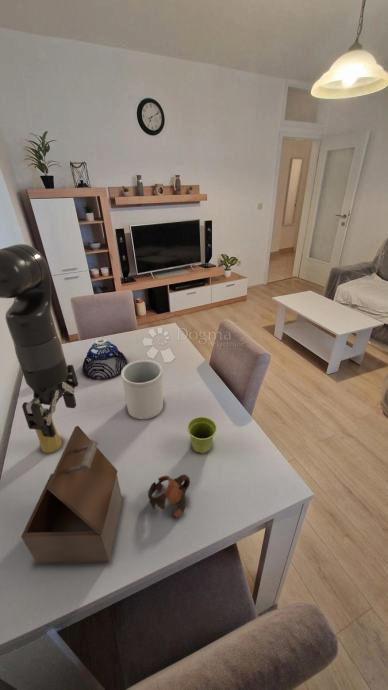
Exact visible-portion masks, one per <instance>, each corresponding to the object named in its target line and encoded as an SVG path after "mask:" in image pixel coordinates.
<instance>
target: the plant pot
mask: <svg viewBox="0 0 388 690" xmlns="http://www.w3.org/2000/svg"><path fill="white" fill-rule="evenodd" d="M186 430H187V433H188V435H189V436H190V441H191V446H192V449H193V451H195V452H196V453H200V454H205V453H207V452H209V451H210V449H211V447H212V443H213V439H214V436H215V435H216V433H217V430H218V426H217V424H216V421H214V420H213V419H211V418H210V417H207V416H197V417H194V418H192V419H191V420H190V421H189V422H188V424H187V428H186Z"/></svg>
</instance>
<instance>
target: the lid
mask: <svg viewBox="0 0 388 690" xmlns="http://www.w3.org/2000/svg"><path fill="white" fill-rule="evenodd" d="M98 444H99V443H98V441H96V440H91V439H90V437H89V436H88V435H87V434H86V433H85V431H83V429H82V428H81V427H80V426H79V425H76V426H74V428H73V431H72V433H71V435H70V436H69V439H68V441H67V443H66V445H65V448H64V449H63V452H62V454H61V456H60V458H59V461H58V462H57V465H56V467H55V469H54V471H53V473H52V474H53V475H52V477H51V479H50V482H49V484H48V486H47V489H48V490H49V491H50V492H51V493H53V494H54V495H55V496H56V497H57V498H58V499H59V500H60V501H62V502H63V503H64V504H65V505H66V506H67V507H68V508H70V509H71V510H72V511H73V512H74V513H75V514H76V515H78V516H79V517H80V518H81V519H82V520H83V521H84V522H85V523H87V524H88V525H89V526H90V527H91V528H92V529H93V530H95V531H96V532H97V533H98V534H102V532H103V528H104V524H105V520H106V516H107V512H108V508H109V504H110V500H111V496H112V492H113V488H114V484H115V479H116V475H117V476H118V470H117V468H116V467H115V466H114V465H113V464H112V463H111V462H110V460H109V459H108V458H107V457H106V456H105V455H104V453H103V452H102V451H101V450H100V449H99V448H98Z"/></svg>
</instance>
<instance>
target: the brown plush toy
mask: <svg viewBox="0 0 388 690" xmlns="http://www.w3.org/2000/svg"><path fill="white" fill-rule="evenodd" d="M157 481H158V482H157V483H156V482H155V481H154V482H152V484H151V485H150V486H149V489H148V491H147V497H148V499H149V504H150V506H151V507H152V509H153V510H156V506H157V507H158V508H160V509H161V510H165V509H166V501H167V500H168V501H167V502H169V504H170V505H171V506H174V505H175V506H176V507H177V508H176V509H175V510H174V511H173V512H172V515H173V516H174V517H175V518H176V519H178V518H179V517H180V516H181V515H182V514H183V513H184V511H185V509H186V507H187V498H186V492H187V490H188V489H189V487H190V484H191V479H190V477H189V476H188V475H187V474H181V475H179V476H178V477H176V478H173V477H171V476H169V475H162V476H160V477H158V480H157ZM165 481H168V484H167V487H166V489H164V491H163V492H162V493H161V494H160V495H157V496H153V495H154V493H155V492H156V491H162V489H163V487H164V485H163V484H162V483H164V482H165Z"/></svg>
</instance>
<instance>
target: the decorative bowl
mask: <svg viewBox="0 0 388 690" xmlns="http://www.w3.org/2000/svg"><path fill="white" fill-rule="evenodd" d="M92 350H95V351H96V352H93V351H92ZM112 358H115V366H114V367H115V368H114V369H115V370H114V369H113V368H112V367H111V366H109V365H108V364H107V363H106V362H105V363H104V362H101V361H107V360H110V359H112ZM94 361H100V362H94ZM127 364H128V360H127V358H126V356H125V354H124V353H123V352H122V351H120V350H119V348H118V347H117V345H115V344H114V343H112V342H111V341H109V340H107V339H106V338H97V339H95V341H94V342H93V344H91V346H90V347H89V348H88V351H87V352H86V356H85V357H84V359H83V362H82V372H83V375H84V376H85V377H86V378H88V379H90V380H94V381H96V380H97V381H104V380H110V379H113V378H116V377H118V376H121V371H122V369H123V368H124V367H125V366H126V365H127Z"/></svg>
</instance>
